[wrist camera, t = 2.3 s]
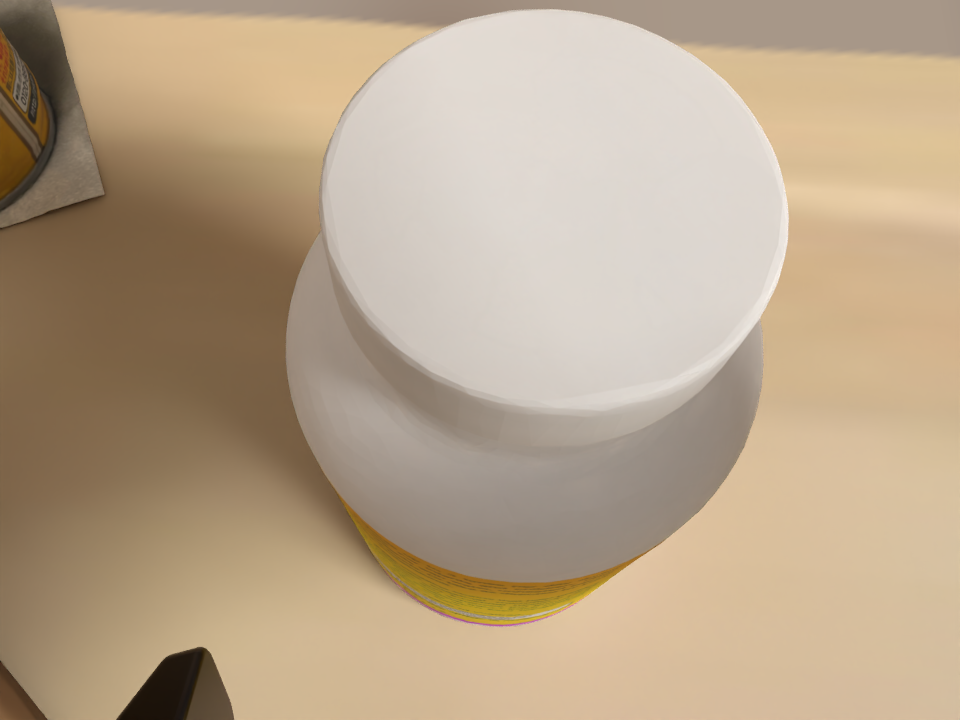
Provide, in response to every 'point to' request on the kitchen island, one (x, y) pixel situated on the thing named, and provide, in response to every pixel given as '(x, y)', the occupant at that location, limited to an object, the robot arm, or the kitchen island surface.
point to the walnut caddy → (15, 700)
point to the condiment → (39, 118)
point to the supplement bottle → (534, 306)
